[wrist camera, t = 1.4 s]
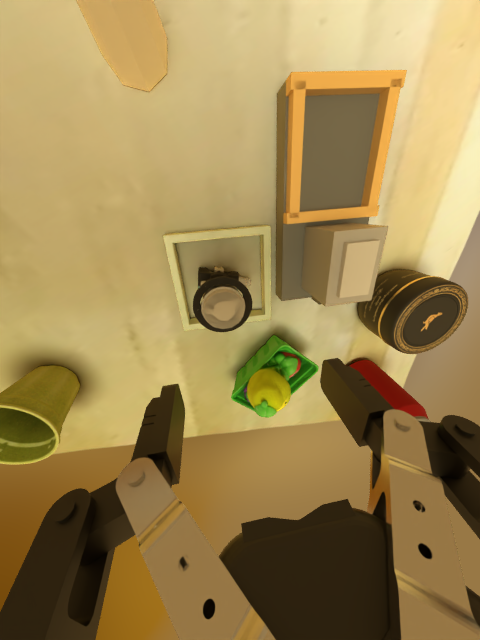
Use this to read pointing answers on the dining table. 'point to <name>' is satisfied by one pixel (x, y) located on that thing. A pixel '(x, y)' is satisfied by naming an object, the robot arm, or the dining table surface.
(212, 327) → the black and tan cylinder
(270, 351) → the fruit basket
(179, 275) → the parts tray
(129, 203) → the dining table surface
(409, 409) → the beverage can
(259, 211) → the dining table surface
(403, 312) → the jar
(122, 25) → the pepper shaker
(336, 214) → the gray stepped base block
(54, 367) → the plant pot
